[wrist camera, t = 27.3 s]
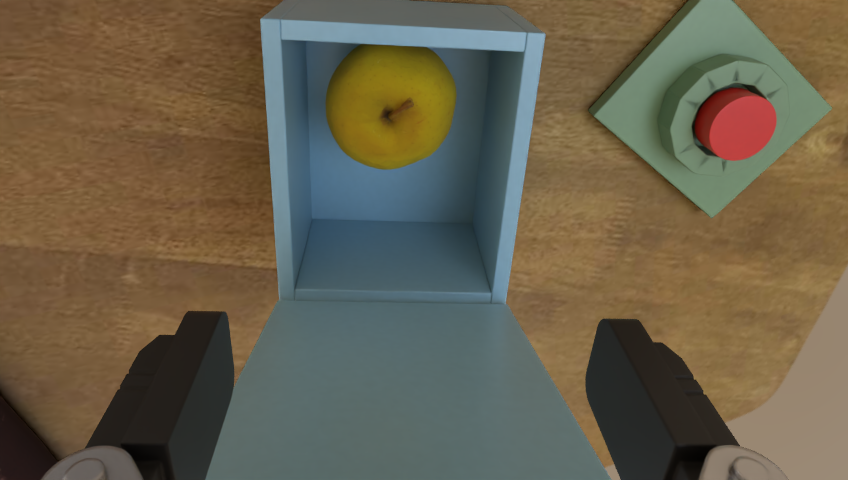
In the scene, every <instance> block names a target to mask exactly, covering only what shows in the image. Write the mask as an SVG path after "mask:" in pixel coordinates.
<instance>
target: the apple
mask: <svg viewBox="0 0 848 480" xmlns="http://www.w3.org/2000/svg"><path fill="white" fill-rule="evenodd" d="M456 97H457V91H456V85H455V82H454V79H453V77H452V75H451V73H450V71H449V70H448V68H447V66H446V65H445V63H444V62H443V61H442V59H441V58H440V57H439V56H438V55H437V54H436V53H435V52H434V51H432V50H430V49H429V48H427V47H415V46H395V45H375V44H360V45H359V46H357V47H356V48H354V49H353V50H352V51H351V52H350V53H349V54H348V55H347V56H346V57H345V58H344V59H343V60H342V61H341V63H340V64H339V65H338V67H337V68H336V70H335V71H334V73H333V75H332V77H331V79H330V81H329V85H328V88H327V93H326V102H325V105H326V117H327V122H328V125H329V128H330V131H331V133H332V135H333V137H334V139H335V141H336V142H337V144H338V145H339V147H340V148H341V149H342V151H343V152H344V153H345V154H346V155H348V156H349V157H350V158H352V159H353V160H355V161H357V162H359V163H362V164H364V165H366V166H369V167H373V168H376V169H381V170H391V169H397V168H401V167H404V166H407V165H410V164H413V163H415V162H417V161H419V160H422V159H424V158H426V157H428V156H430V155H431V154H432V153H434V152H435V151H436V150H437V149H438V148H439V147H440V145H441V144H442V143H443V141H444V140H445V138H446V136H447V135H448V133H449V130H450V128H451V124H452V119H453V115H454V110H455V105H456Z"/></svg>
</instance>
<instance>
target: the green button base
mask: <svg viewBox="0 0 848 480" xmlns="http://www.w3.org/2000/svg"><path fill="white" fill-rule="evenodd" d="M728 88H743V89H746V90H748V91H750V92H752V93H754V94H756V95H759V96H761V97H763V98H765V99H766V100H768V101H769V102H770V103H771V104H772V105H773V107H774V109H775V112H776V118H777V122H776V128H775V131H774V133H773V135H772V137H771V139H770V141H769V142H768V143H767V144H766V146H765V147H764V148H763V149H761V150H760V151H759V152H758V153H756V154H755V155H753V156H751V157H749V158H746V159H743V160H737V161H730V160H725V159H722V158H720V157H719V156H717V155H716V154H714V153H713V152H712V151H710V150H709V149H707V148H706V147H705V146H703V145H702V144H701V143H700V142H699V140H698V139H697V136H696V133H695V121H696V117H697V114H698V112H699V110H700V108H701V107H702V105H703V104H704V103H705V102H706V101H707V100H708V99H709V98H710V97H711V96H713V95H714V94H716V93H717V92H719V91H721V90H724V89H728ZM831 109H832V107H831V106H830V105H829V104H828V103H827V102H826V101H825V100H824V99H823V97H822V96H821V95H820V94H819V93H818V92H817V91H816V90H815V89H814V88H813V87H812V86H811V84H810V83H809V82H808V81H807V80H806V79H805V78H804V77H803V76H802V75H801V74H800V73H799V71H798V70H797V69H796V68H795V67H794V66H793V65H792V64H791V63H790V62H789V61H788V60H787V59H786V57H785V56H784V55H783V54H782V53H781V52H780V51H779V50H778V49H777V48H776V47H775V46H774V44H773V43H772V42H771V41H770V40H769V39H768V38H767V37H766V36H765V35H764V34H763V33H762V31H761V30H760V29H759V28H758V27H757V26H756V25H755V24H754V23H753V22H752V21H751V20H750V18H749V17H748V16H747V15H746V14H745V13H744V12H743V11H742V10H741V9H740V8H739V7H738V6H737V4H736V3H735V2H734V1H733V0H689V1H688V2H687V3H686V4H685V5H684V6H683V7H682V8H681V9H680V10H679V11H678V13H677V14H676V15H675V16H674V17H673V18H672V19H671V20H670V21H669V22H668V23H667V25H666V26H665V27H664V28H663V29H662V30H661V31H660V32H659V33H658V34H657V35H656V37H655V38H654V39H653V40H652V41H651V42H650V43H649V44H648V45H647V46H646V48H645V49H644V50H643V51H642V52H641V53H640V54H639V55H638V56H637V57H636V58H635V60H634V61H633V62H632V63H631V64H630V65H629V66H628V67H627V68H626V69H625V70H624V72H623V73H622V74H621V75H620V76H619V77H618V78H617V79H616V80H615V81H614V82H613V84H612V85H611V86H610V87H609V88H608V89H607V90H606V91H605V92H604V93H603V95H602V96H601V97H600V98H599V99H598V100H597V101H596V102H595V103H594V104H593V105H592V107H591V108H590V109H589V110H588V111H589V112H590V113H591V114H592V115H593V116H594V117H595V118H596V119H597V120H598V121H600V122H601V123H602V124H603V125H604V126H605V127H607V128H608V129H609V130H610V131H611V132H612V133H613V134H615V135H616V136H617V137H618V138H619V139H620V140H622V141H623V142H624V143H625V144H626V145H627V146H629V147H630V148H631V149H632V150H633V151H634V152H635V153H637V154H638V155H639V156H640V157H641V158H642V159H644V160H645V161H646V162H647V163H648V164H649V165H650V166H652V167H653V168H654V169H655V170H656V171H657V172H659V173H660V174H661V175H662V176H663V177H664V178H666V179H667V180H668V181H669V182H670V183H671V184H672V185H674V186H675V187H676V188H677V189H678V190H679V191H681V192H682V193H683V194H684V195H685V196H686V197H687V198H689V199H690V200H691V201H692V202H693V203H694V204H696V205H697V206H698V207H699V208H700V209H701V210H703V211H704V212H705V213H706V214H707V215H708V216H709V217H711V218H713V217H714V216H715V215H716V214H717V213H719V212H720V211H721V210H722V209H723V208H724V207H725V206H726V205H727V204H728V203H729V202H731V201H732V200H733V199H734V198H735V197H736V196H737V195H738V194H739V193H740V192H742V191H743V190H744V189H745V188H746V187H747V186H748V185H749V184H750V183H751V182H752V181H754V180H755V179H756V178H757V177H758V176H759V175H760V174H761V173H762V172H763V171H764V170H766V169H767V168H768V167H769V166H770V165H771V164H772V163H773V162H774V161H775V160H777V159H778V158H779V157H780V156H781V155H782V154H783V153H784V152H785V151H786V150H787V149H789V148H790V147H791V146H792V145H793V144H794V143H795V142H796V141H797V140H798V139H799V138H801V137H802V136H803V135H804V134H805V133H806V132H807V131H808V130H809V129H810V128H812V127H813V126H814V125H815V124H816V123H817V122H818V121H819V120H820V119H821V118H822V117H824V116H825V115H826V114H827V113H828V112H829V111H830V110H831Z"/></svg>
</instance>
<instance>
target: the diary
mask: <svg viewBox="0 0 848 480" xmlns="http://www.w3.org/2000/svg"><path fill="white" fill-rule="evenodd" d="M56 463H57V460H56V459H55V458H54V457H53V455H52V454H51V453H50V451H49V450H48V449H47V448H46V446H45V445H44V444H43V443H42V441H41V440H40V439H39V438H38V437H37V436H36V435H35V434H34V433H33V431H32V430H31V429H30V428H29V427H28V426H27V425H26V424H25V423H24V422H23V420H22V419H21V418H20V417H19V416H18V415H17V414H16V413H15V412H14V410H13V409H12V408H11V407H10V406H9V405H8V404H7V403H6V402H5V401H4V399H3V398H2V397H1V396H0V480H41V479H42V477H43V476H44V475H45V474H46V472H47V471H48V470H49V469H50V468H51V467H52V466H54V465H55V464H56Z"/></svg>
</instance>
